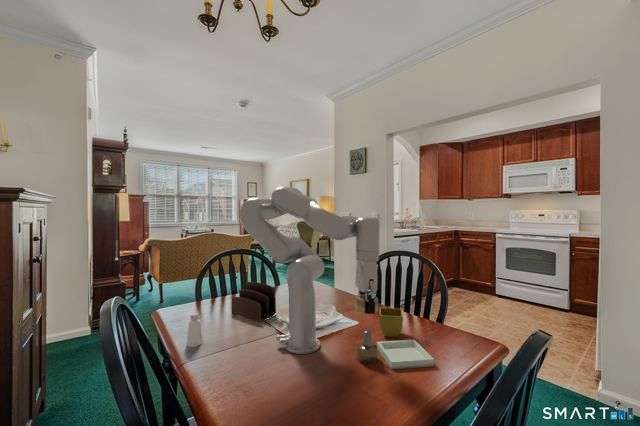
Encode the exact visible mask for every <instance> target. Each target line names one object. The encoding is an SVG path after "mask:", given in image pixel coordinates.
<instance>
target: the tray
mask: <svg viewBox="0 0 640 426" xmlns="http://www.w3.org/2000/svg"><path fill="white" fill-rule="evenodd" d="M376 346H377V347H378V352H379V353H380V355H381V357H382V358H383V359H384V361H385V362H386V364H387V366H388V367H389V368H390V370H396V369H397V370H399V369H414V368H426V367H434V366H435V358H433V357H432V356H431V354H430V353H428V351H426V349H424V348H423V346H421V345H420V343H419V342H417V341H416V340H415V339H403V340H402V339H401V340H384V341H376Z"/></svg>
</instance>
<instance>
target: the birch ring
mask: <svg viewBox="0 0 640 426" xmlns="http://www.w3.org/2000/svg"><path fill="white" fill-rule="evenodd" d="M369 295H370V294H368V297H369ZM365 301H366V296H365V294H359V293H358V294H357V295H355V296H354V310H356V312H358V313H361V314H365ZM378 311H379V298H378V297H377V296H375V313H377V312H378Z"/></svg>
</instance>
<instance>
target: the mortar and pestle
mask: <svg viewBox="0 0 640 426" xmlns="http://www.w3.org/2000/svg"><path fill="white" fill-rule="evenodd" d="M356 348H357V349H356V350H357V351H356V355H357V356H356V357H357V358H356V359H357V361H358V362H359V363H361V364H364V365H373V364H376V363H377V362H378V352H379V351H378V347H377V344H375V343H373V342H372V331H371V330H367V329H366V330H364V331H363V342H360V343H358V344H357V346H356Z"/></svg>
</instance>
